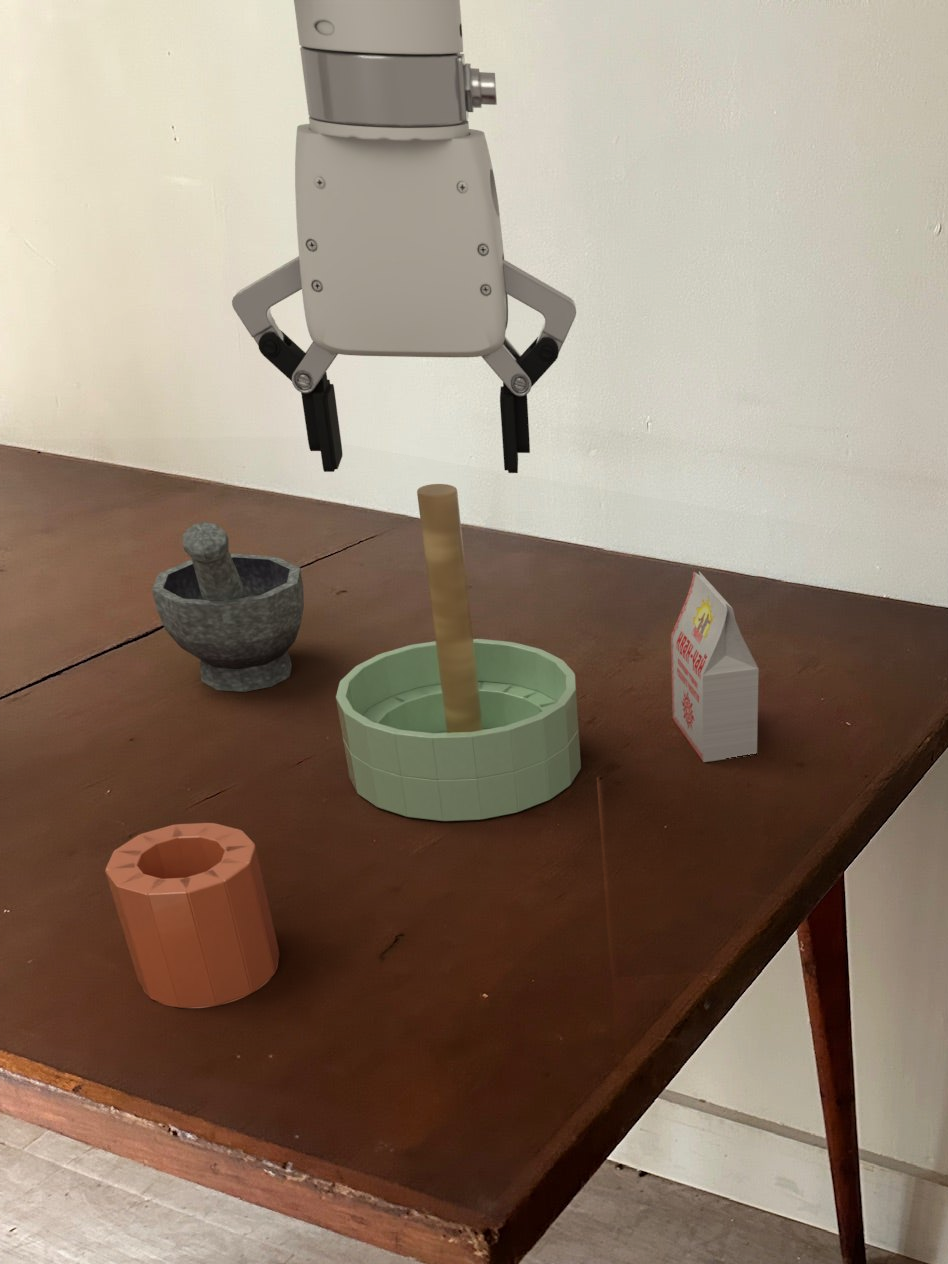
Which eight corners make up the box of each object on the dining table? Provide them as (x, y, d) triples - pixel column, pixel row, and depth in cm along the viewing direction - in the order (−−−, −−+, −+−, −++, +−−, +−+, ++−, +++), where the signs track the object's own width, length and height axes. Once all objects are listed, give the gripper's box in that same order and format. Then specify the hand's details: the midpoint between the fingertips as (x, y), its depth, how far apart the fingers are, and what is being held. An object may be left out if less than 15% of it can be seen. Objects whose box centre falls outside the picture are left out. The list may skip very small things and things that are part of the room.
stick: (450, 774, 89) (415, 495, 79) (451, 758, 91) (418, 483, 80) (486, 772, 89) (456, 495, 79) (487, 756, 91) (457, 483, 81)
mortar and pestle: (187, 649, 105) (147, 481, 97) (319, 642, 106) (290, 477, 99) (165, 715, 96) (120, 536, 89) (310, 707, 97) (277, 530, 90)
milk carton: (723, 711, 98) (724, 568, 92) (756, 754, 93) (759, 605, 87) (672, 718, 97) (669, 573, 91) (703, 762, 92) (702, 612, 86)
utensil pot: (130, 1019, 69) (91, 897, 65) (158, 943, 75) (124, 825, 70) (270, 1011, 70) (241, 890, 66) (288, 936, 75) (262, 819, 71)
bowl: (340, 835, 84) (323, 741, 80) (363, 728, 95) (349, 642, 91) (584, 824, 86) (578, 732, 82) (578, 720, 97) (573, 635, 93)
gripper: (567, 97, 73) (579, 447, 83) (213, 82, 70) (270, 444, 81) (570, 111, 67) (583, 487, 77) (183, 96, 64) (249, 485, 75)
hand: (423, 465), depth 79 cm, fingers open, 9 cm apart
